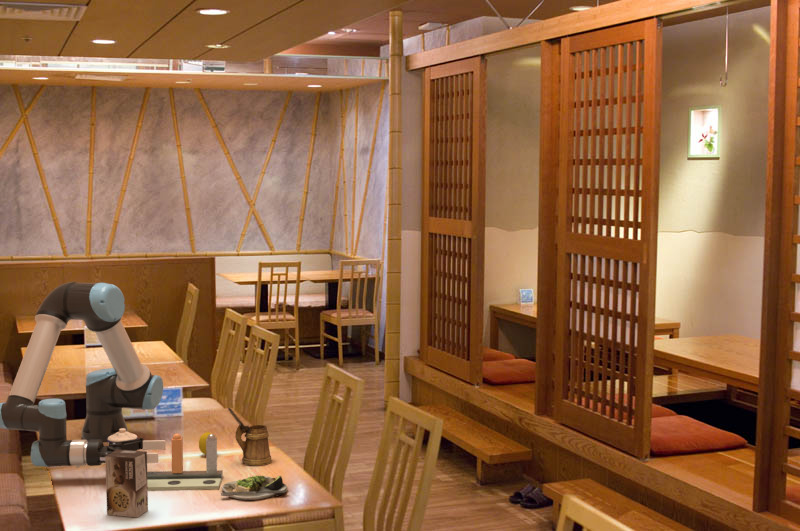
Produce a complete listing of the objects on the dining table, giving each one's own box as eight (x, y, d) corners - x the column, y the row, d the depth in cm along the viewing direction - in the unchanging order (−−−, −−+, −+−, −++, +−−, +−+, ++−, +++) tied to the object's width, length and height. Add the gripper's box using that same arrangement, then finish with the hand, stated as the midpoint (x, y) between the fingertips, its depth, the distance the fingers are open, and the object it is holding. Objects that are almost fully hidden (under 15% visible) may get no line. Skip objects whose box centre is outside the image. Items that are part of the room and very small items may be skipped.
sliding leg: (173, 470, 284) (172, 432, 283) (182, 470, 284) (182, 432, 283) (171, 473, 281) (171, 434, 280) (181, 473, 281) (181, 434, 280)
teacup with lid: (138, 469, 292) (137, 431, 291) (107, 471, 290) (106, 433, 289) (138, 458, 304) (137, 422, 303) (108, 460, 301) (107, 423, 300)
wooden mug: (226, 460, 303) (226, 404, 301) (269, 457, 306) (269, 401, 305) (229, 468, 294) (229, 410, 292) (273, 464, 298) (273, 408, 296)
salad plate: (233, 509, 259) (233, 492, 258) (206, 491, 273) (206, 475, 273) (296, 495, 270) (296, 479, 269) (267, 479, 284) (267, 464, 284)
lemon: (195, 457, 305) (195, 432, 304) (204, 452, 310) (204, 428, 310) (211, 459, 303) (211, 434, 303) (219, 454, 309) (219, 430, 308)
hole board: (134, 483, 279) (134, 479, 278) (221, 481, 281) (221, 478, 281) (129, 490, 272) (129, 487, 272) (218, 489, 274) (218, 485, 274)
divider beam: (130, 478, 283) (129, 433, 282) (222, 476, 285) (222, 432, 284) (128, 481, 280) (127, 436, 279) (221, 480, 282) (221, 435, 281)
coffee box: (149, 510, 256) (148, 451, 255) (136, 518, 250) (135, 457, 248) (118, 507, 258) (117, 448, 257) (105, 515, 252) (104, 455, 251)
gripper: (97, 453, 292) (167, 451, 294) (77, 478, 267) (155, 476, 269) (96, 429, 291) (167, 427, 294) (77, 452, 267) (154, 450, 269)
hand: (161, 451), depth 281 cm, fingers open, 13 cm apart
